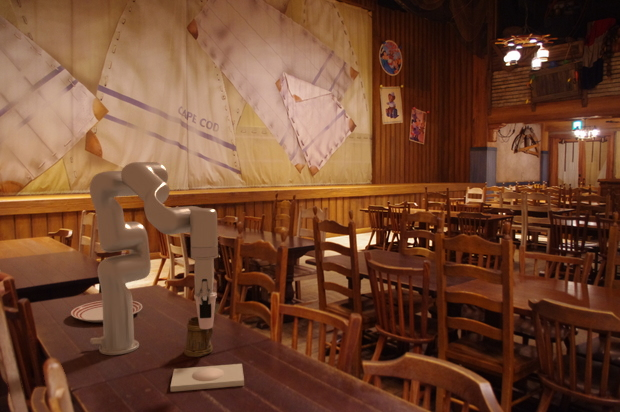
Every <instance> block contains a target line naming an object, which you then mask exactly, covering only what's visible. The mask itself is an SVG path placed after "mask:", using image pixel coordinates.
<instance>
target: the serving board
mask: <svg viewBox="0 0 620 412" xmlns="http://www.w3.org/2000/svg"><path fill="white" fill-rule="evenodd" d="M241 386H243V387H244V386H245V377H244V369H243V363H233V364H221V365H220V364H219V365H209V366H195V367H183V368H174V369H173V373H172V378H171V383H170V392H184V391H193V390H194V391H195V390H205V389H207V390H208V389H219V388H228V387H229V388H230V387H241Z"/></svg>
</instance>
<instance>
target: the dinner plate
mask: <svg viewBox="0 0 620 412" xmlns="http://www.w3.org/2000/svg"><path fill="white" fill-rule="evenodd" d="M142 309H143V304H142V303H141V302H139V301H135V300H133V315H135V314H137V313H139V312H140V311H141V310H142ZM70 315H71V316H72V317H73V318H75V319H78V320H81V321H85V322H90V323H103V307H102V300H97V301H92V302H89V303H88V302H87V303H83V304H82V305H79V306H77V307H75V308H73V309H72V310H71V312H70Z"/></svg>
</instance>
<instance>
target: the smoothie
mask: <svg viewBox="0 0 620 412" xmlns="http://www.w3.org/2000/svg"><path fill="white" fill-rule="evenodd" d="M207 293H209V291H207ZM217 295H218V294H217V292H215V291H212V293H211V294H210V303H211V318H200V307H199V304H200V292H199V293H197V294H195V293H194V295H193V298H194V301H195V304H196V314H197V317H198V320H199V326H200V328H201V329H210V328H212V327H213V328H214V319H215V315H214V310H215V303H216V299H217V298H218V296H217ZM207 296H208V295H207Z"/></svg>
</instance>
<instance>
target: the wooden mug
mask: <svg viewBox="0 0 620 412" xmlns="http://www.w3.org/2000/svg"><path fill="white" fill-rule="evenodd" d="M219 310H220V303H218V302H215V310H214V316H216V314H217V313H218V311H219ZM186 329H187V332H186V340H185V347H184V352H183V353H184V356H187V357H191V358H192V357H193V358H197V357H199V358H200V357H204V356H207V355H209V354H212V352H213V344H212V343H211V338H212V336H213V333H214V326H213V327H212V328H210V329H201V328H200V326H199V320H198V316H193V317H189V318H188V322H187V324H186Z"/></svg>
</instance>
